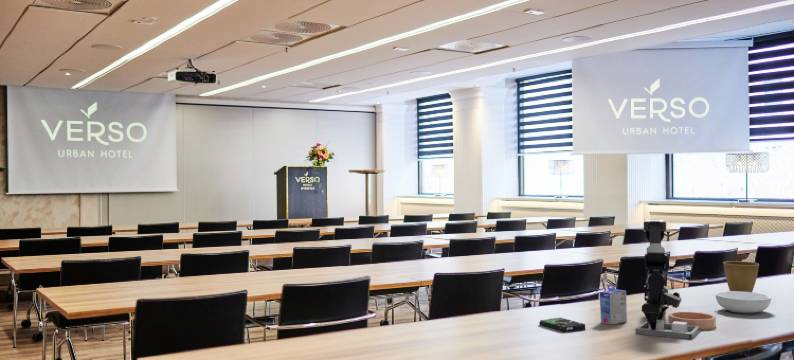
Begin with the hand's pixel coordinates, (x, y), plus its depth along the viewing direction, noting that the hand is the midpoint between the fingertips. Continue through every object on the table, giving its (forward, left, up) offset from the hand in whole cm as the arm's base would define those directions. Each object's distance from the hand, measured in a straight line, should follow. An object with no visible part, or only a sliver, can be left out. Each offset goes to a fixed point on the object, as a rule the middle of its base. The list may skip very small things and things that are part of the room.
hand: (656, 328), depth 264 cm
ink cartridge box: (-18, +9, -1) cm, 20 cm away
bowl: (+9, +18, -1) cm, 20 cm away
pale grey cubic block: (+8, 0, -1) cm, 8 cm away
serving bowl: (+22, +57, -1) cm, 61 cm away
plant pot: (+17, +94, -1) cm, 96 cm away
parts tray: (+4, 0, -1) cm, 4 cm away
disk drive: (-32, -10, -2) cm, 34 cm away
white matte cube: (0, 0, -1) cm, 1 cm away
